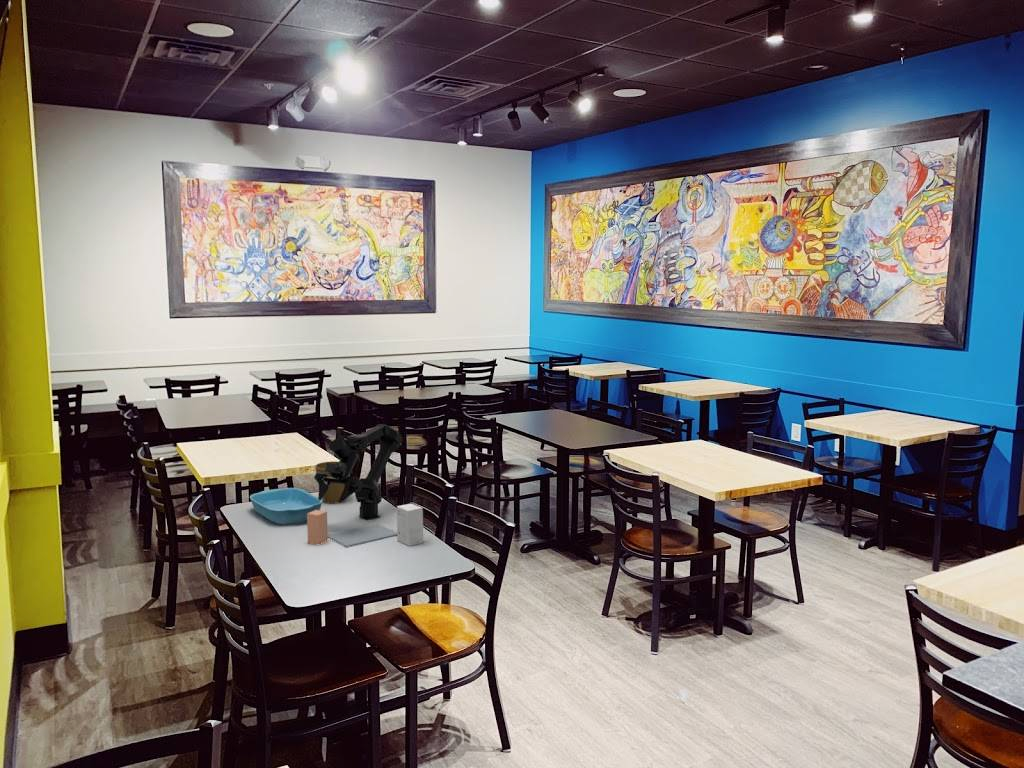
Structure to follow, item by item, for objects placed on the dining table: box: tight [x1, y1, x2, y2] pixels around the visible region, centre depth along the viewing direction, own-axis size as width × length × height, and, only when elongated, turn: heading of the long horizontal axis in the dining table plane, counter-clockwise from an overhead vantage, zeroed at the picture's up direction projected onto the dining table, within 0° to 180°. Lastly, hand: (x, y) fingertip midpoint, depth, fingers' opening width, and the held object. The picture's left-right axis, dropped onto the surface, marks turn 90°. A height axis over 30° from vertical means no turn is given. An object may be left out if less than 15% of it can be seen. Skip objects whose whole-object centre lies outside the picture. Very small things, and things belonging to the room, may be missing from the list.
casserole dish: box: [249, 487, 323, 525], centre depth 315 cm, size 37×22×7 cm, turn 38°
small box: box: [396, 503, 424, 547], centre depth 282 cm, size 8×6×13 cm
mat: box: [328, 523, 397, 548], centre depth 289 cm, size 22×16×1 cm
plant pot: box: [314, 461, 344, 504], centre depth 334 cm, size 15×15×16 cm
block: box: [306, 510, 329, 545], centre depth 281 cm, size 5×5×11 cm
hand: (329, 501), depth 288 cm, fingers open, 9 cm apart
